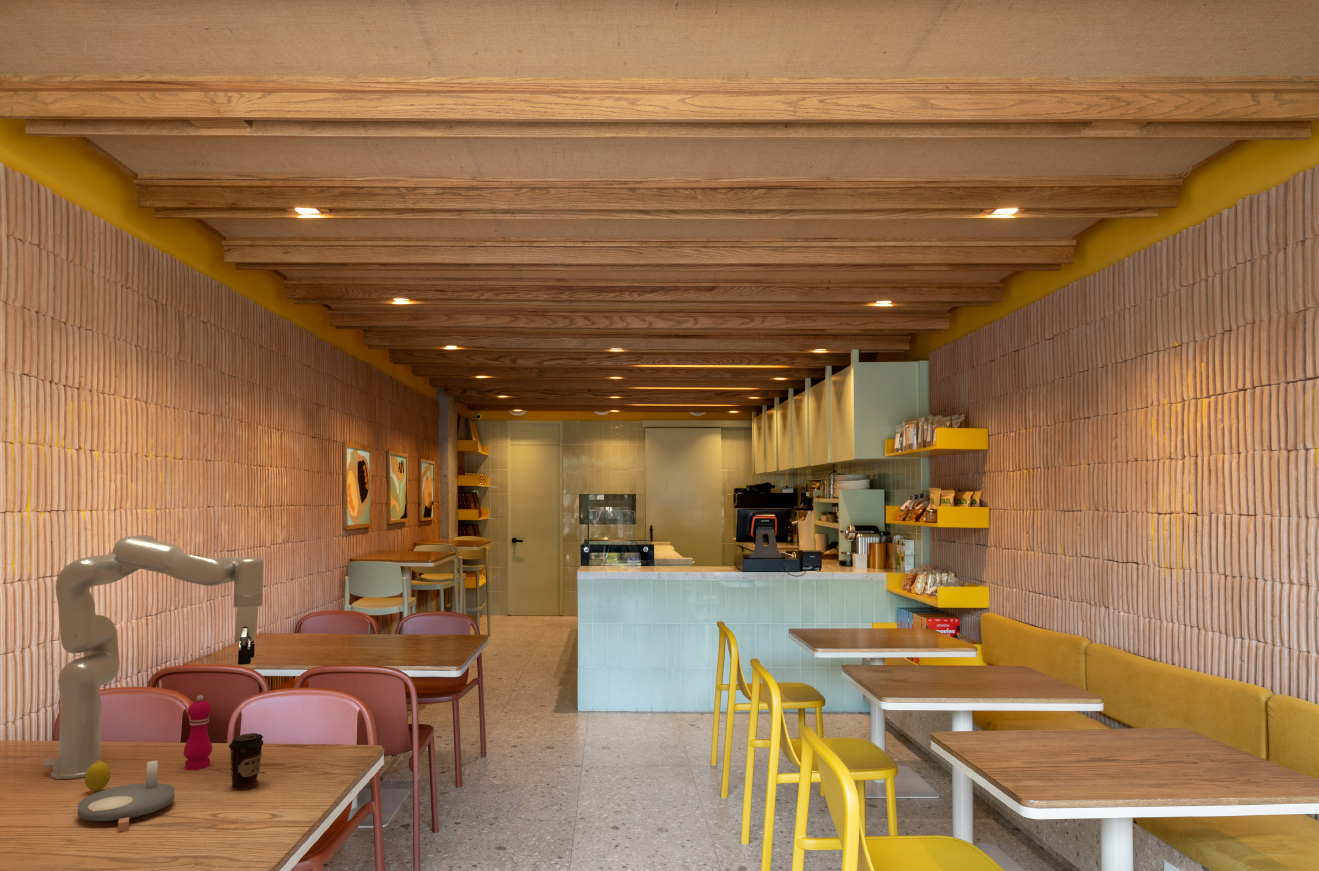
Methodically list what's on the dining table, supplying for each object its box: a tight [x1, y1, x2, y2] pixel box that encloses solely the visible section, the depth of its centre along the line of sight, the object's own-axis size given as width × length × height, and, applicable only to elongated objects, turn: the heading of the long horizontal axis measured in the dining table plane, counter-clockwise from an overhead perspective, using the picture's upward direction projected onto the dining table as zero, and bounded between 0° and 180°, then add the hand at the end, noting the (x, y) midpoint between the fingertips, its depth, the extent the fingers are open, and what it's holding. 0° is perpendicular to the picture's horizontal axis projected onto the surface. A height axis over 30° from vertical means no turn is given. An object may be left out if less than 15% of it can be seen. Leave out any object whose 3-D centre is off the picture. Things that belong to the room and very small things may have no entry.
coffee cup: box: [228, 732, 264, 791], centre depth 222 cm, size 9×8×13 cm
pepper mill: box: [183, 694, 213, 771], centre depth 239 cm, size 7×7×20 cm
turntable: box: [77, 760, 176, 822], centre depth 204 cm, size 20×20×8 cm
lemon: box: [84, 760, 111, 793], centre depth 217 cm, size 6×6×8 cm
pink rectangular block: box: [117, 817, 130, 833], centre depth 193 cm, size 3×2×2 cm, turn 29°
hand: (246, 661), depth 239 cm, fingers open, 9 cm apart
